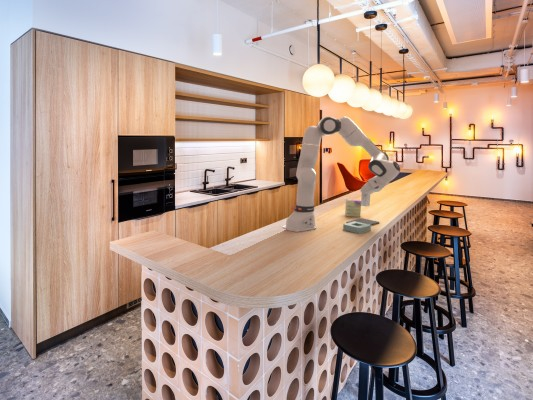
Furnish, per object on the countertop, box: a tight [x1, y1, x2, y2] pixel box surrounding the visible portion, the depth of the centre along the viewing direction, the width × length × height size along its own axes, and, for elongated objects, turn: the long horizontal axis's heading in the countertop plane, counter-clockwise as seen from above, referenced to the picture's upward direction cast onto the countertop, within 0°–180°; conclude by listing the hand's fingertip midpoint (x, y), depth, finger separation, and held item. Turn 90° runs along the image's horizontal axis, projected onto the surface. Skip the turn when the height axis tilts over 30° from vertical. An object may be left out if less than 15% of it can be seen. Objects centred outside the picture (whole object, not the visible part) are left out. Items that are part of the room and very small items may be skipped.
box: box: [344, 198, 362, 218], centre depth 244 cm, size 10×6×12 cm, turn 84°
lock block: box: [342, 221, 372, 235], centre depth 206 cm, size 12×12×4 cm
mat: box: [345, 217, 380, 227], centre depth 223 cm, size 18×14×1 cm
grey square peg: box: [360, 193, 371, 207], centre depth 219 cm, size 4×4×12 cm
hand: (364, 195), depth 219 cm, fingers closed on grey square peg, 4 cm apart
